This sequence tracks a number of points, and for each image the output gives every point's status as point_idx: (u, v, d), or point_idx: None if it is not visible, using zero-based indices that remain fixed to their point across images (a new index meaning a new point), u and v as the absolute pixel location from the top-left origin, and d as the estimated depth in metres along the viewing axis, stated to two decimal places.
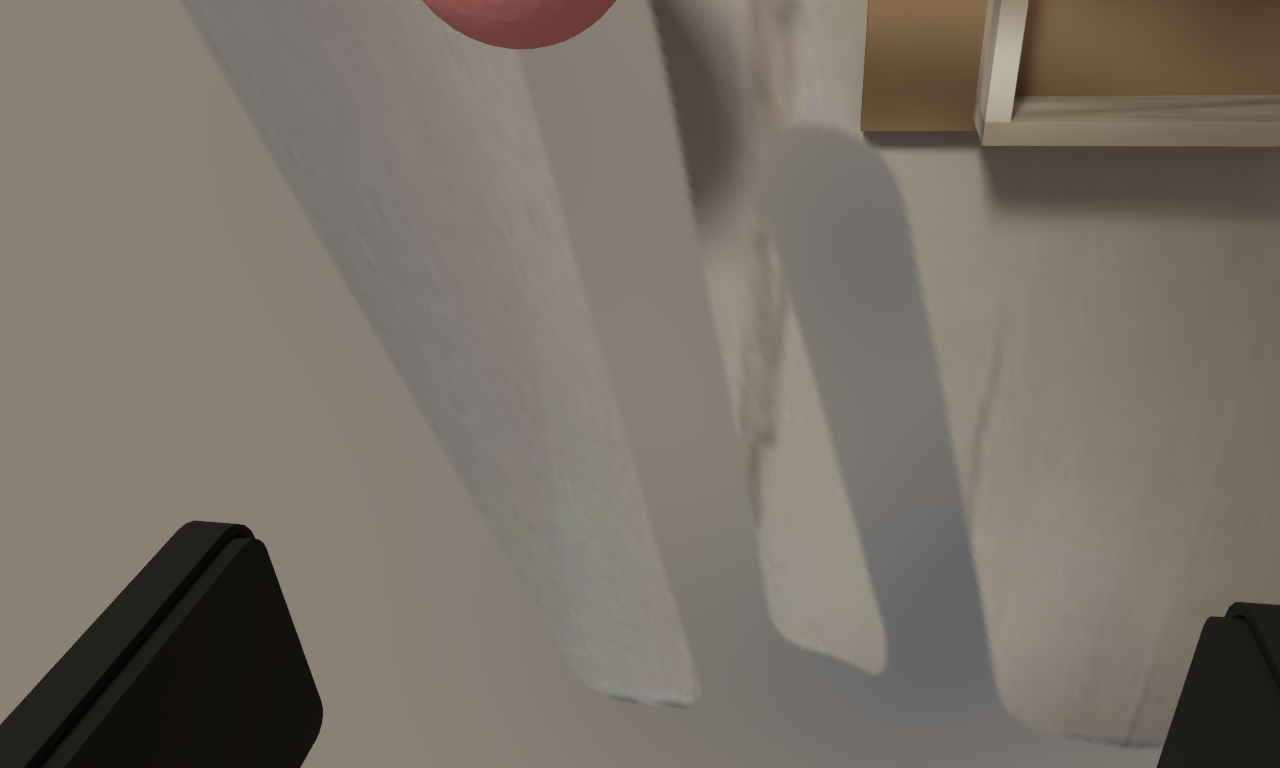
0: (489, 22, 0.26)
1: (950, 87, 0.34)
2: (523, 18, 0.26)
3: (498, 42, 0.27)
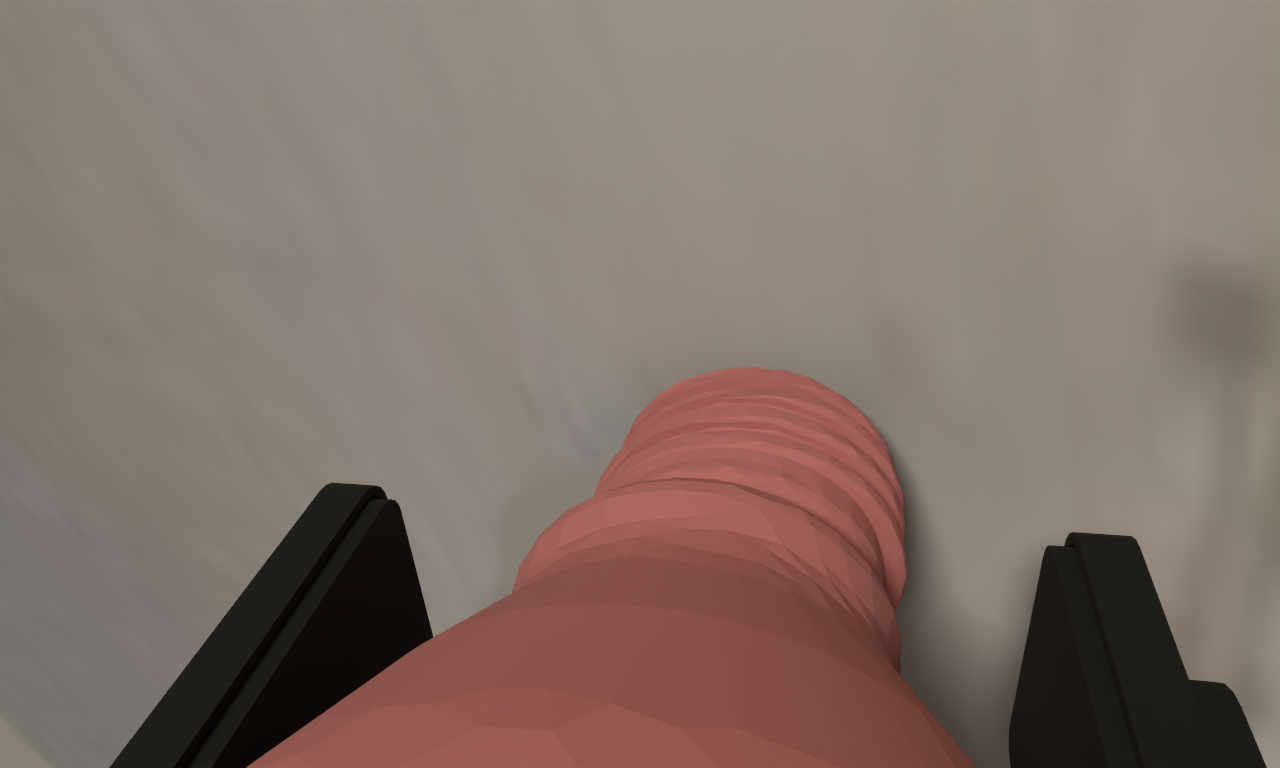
0: None
1: None
2: None
3: None
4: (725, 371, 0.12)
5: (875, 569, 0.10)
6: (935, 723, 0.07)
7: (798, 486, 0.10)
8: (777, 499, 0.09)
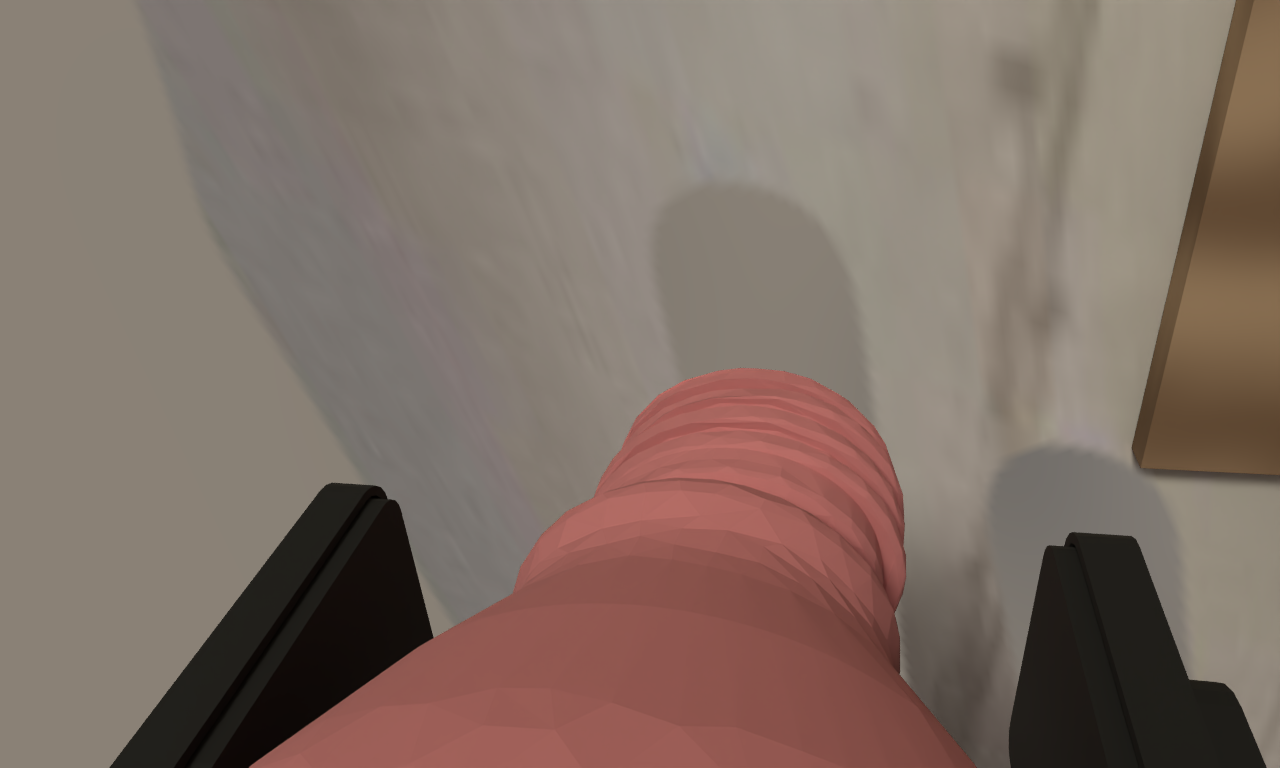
0: None
1: (1276, 425, 0.25)
2: None
3: None
4: (724, 372, 0.12)
5: (874, 569, 0.10)
6: (934, 722, 0.07)
7: (797, 486, 0.10)
8: (777, 499, 0.09)
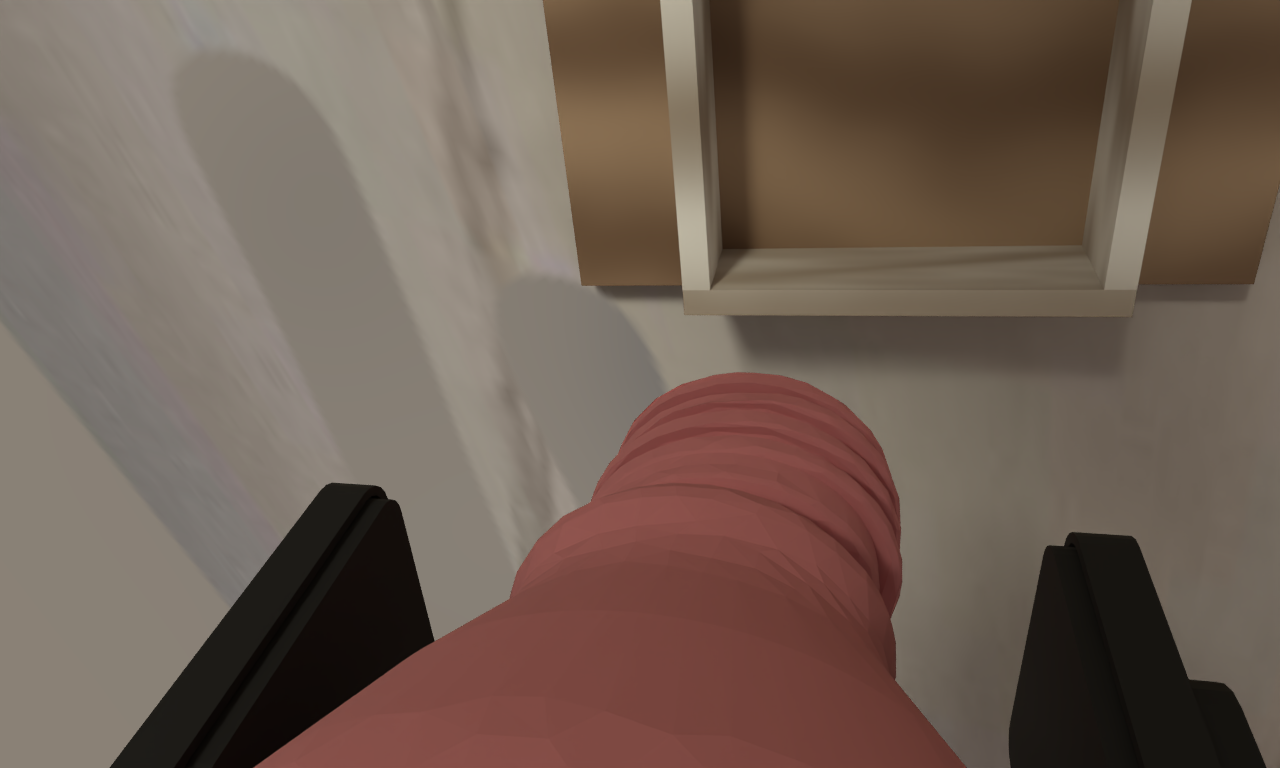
0: None
1: (668, 239, 0.30)
2: None
3: None
4: (721, 377, 0.12)
5: (871, 574, 0.10)
6: (929, 729, 0.07)
7: (794, 491, 0.10)
8: (773, 504, 0.09)
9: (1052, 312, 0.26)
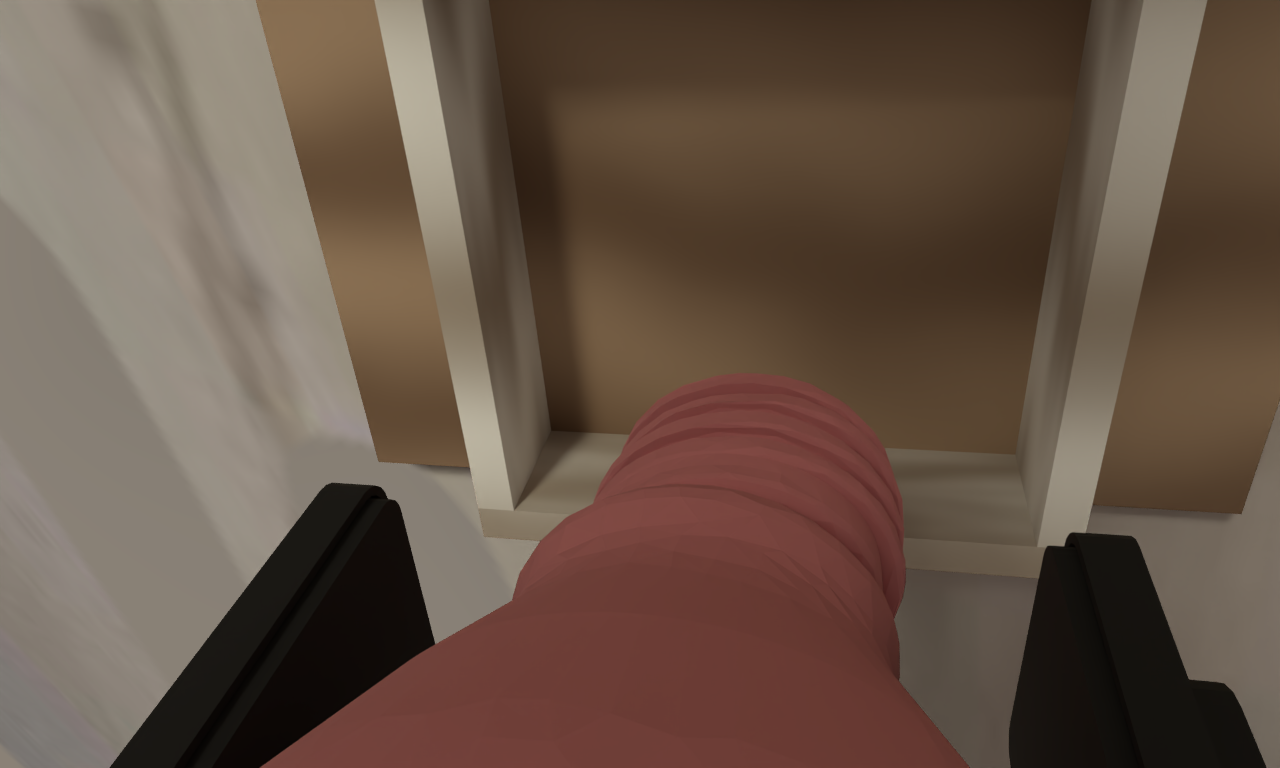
0: None
1: None
2: None
3: None
4: (724, 377, 0.12)
5: (874, 575, 0.10)
6: (934, 731, 0.07)
7: (796, 493, 0.10)
8: (776, 505, 0.09)
9: (967, 568, 0.19)
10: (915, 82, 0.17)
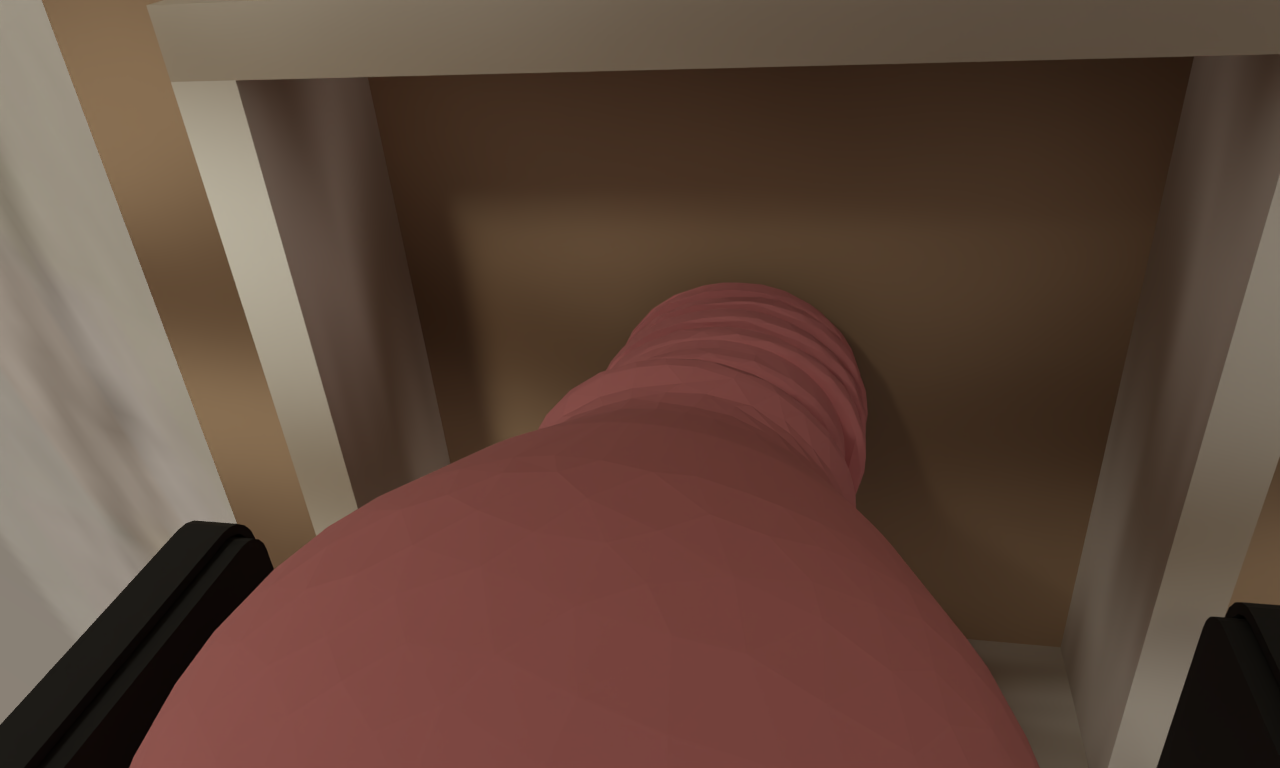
0: None
1: None
2: None
3: None
4: (709, 286, 0.13)
5: (836, 444, 0.11)
6: None
7: (768, 369, 0.11)
8: (749, 374, 0.11)
9: None
10: (937, 198, 0.13)
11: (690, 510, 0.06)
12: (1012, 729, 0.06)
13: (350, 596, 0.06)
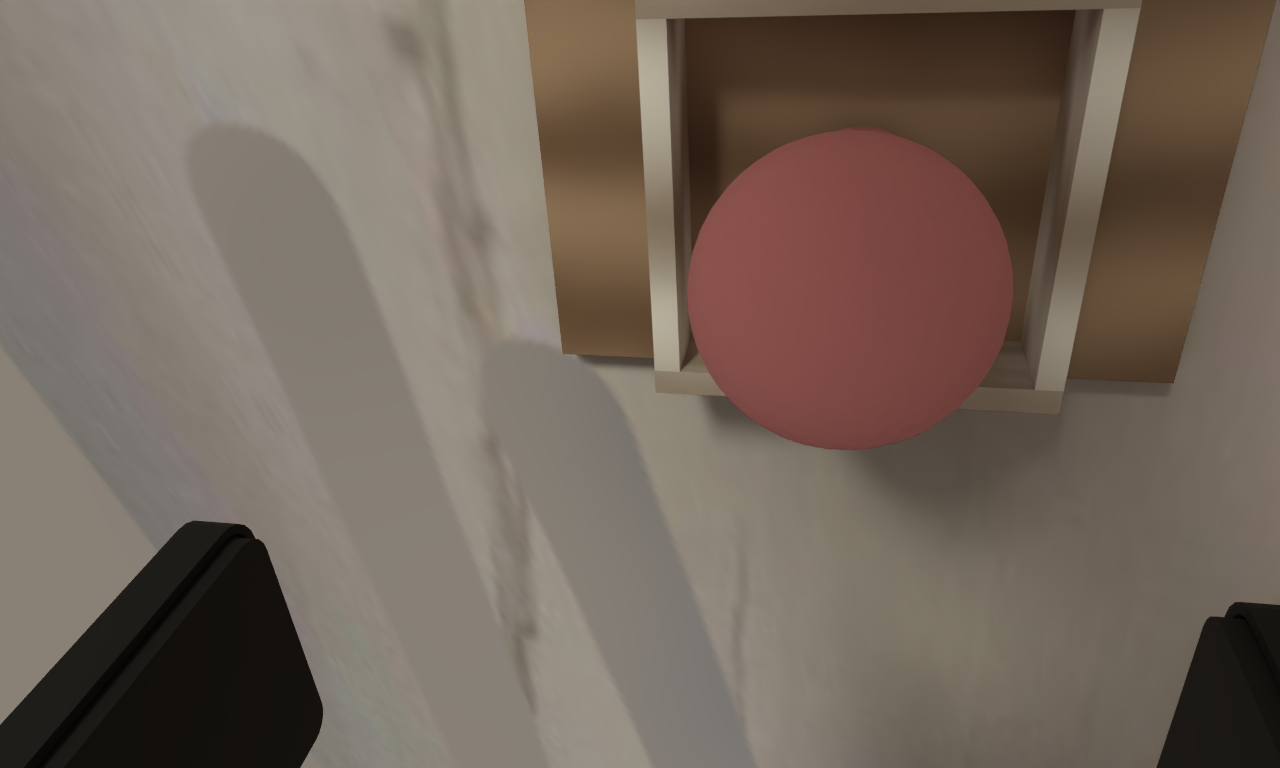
0: (826, 443, 0.21)
1: (644, 316, 0.33)
2: (872, 442, 0.20)
3: None
4: (849, 128, 0.27)
5: None
6: None
7: None
8: None
9: (988, 407, 0.28)
10: (959, 85, 0.27)
11: (893, 135, 0.20)
12: None
13: (799, 150, 0.20)
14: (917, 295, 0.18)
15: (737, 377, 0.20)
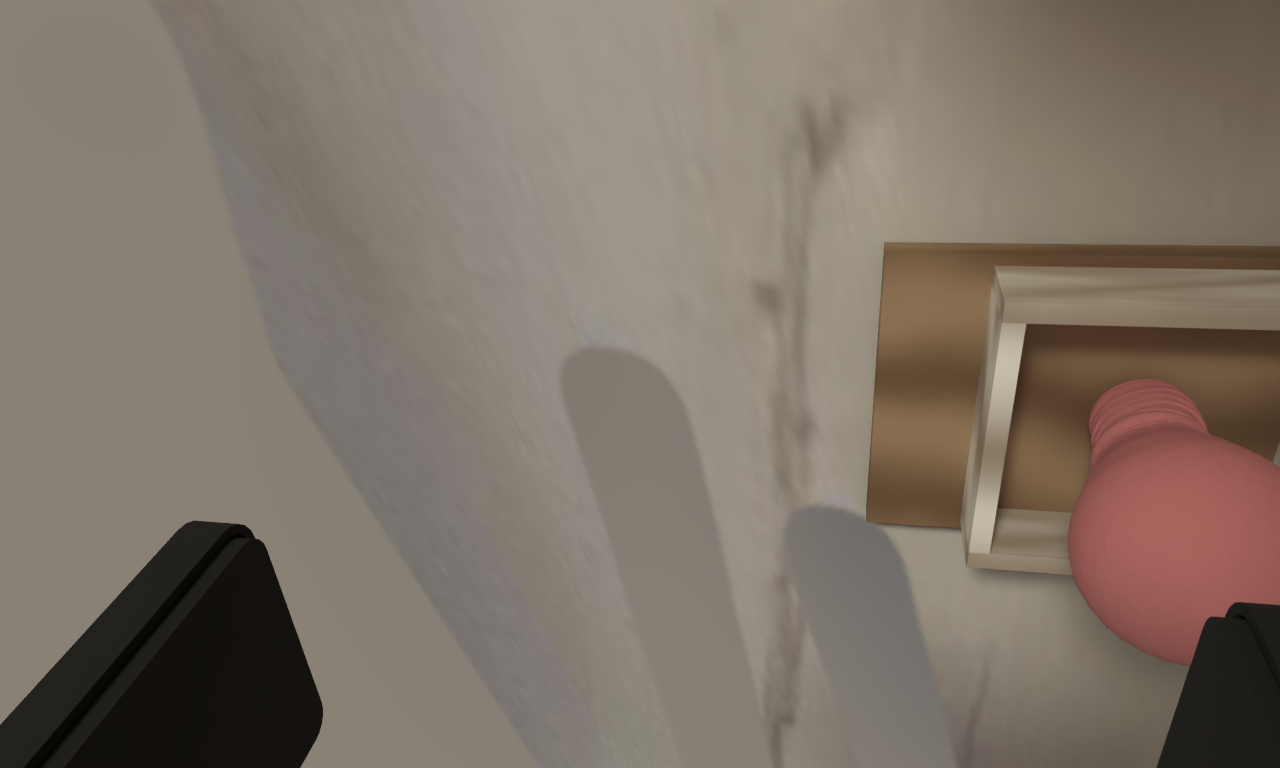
0: None
1: (940, 497, 0.41)
2: None
3: None
4: (1138, 380, 0.36)
5: None
6: None
7: (1184, 413, 0.34)
8: (1185, 415, 0.33)
9: None
10: (1227, 350, 0.35)
11: (1240, 450, 0.29)
12: None
13: (1180, 467, 0.28)
14: None
15: (1134, 624, 0.29)
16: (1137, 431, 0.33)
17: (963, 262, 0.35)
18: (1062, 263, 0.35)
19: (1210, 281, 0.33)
